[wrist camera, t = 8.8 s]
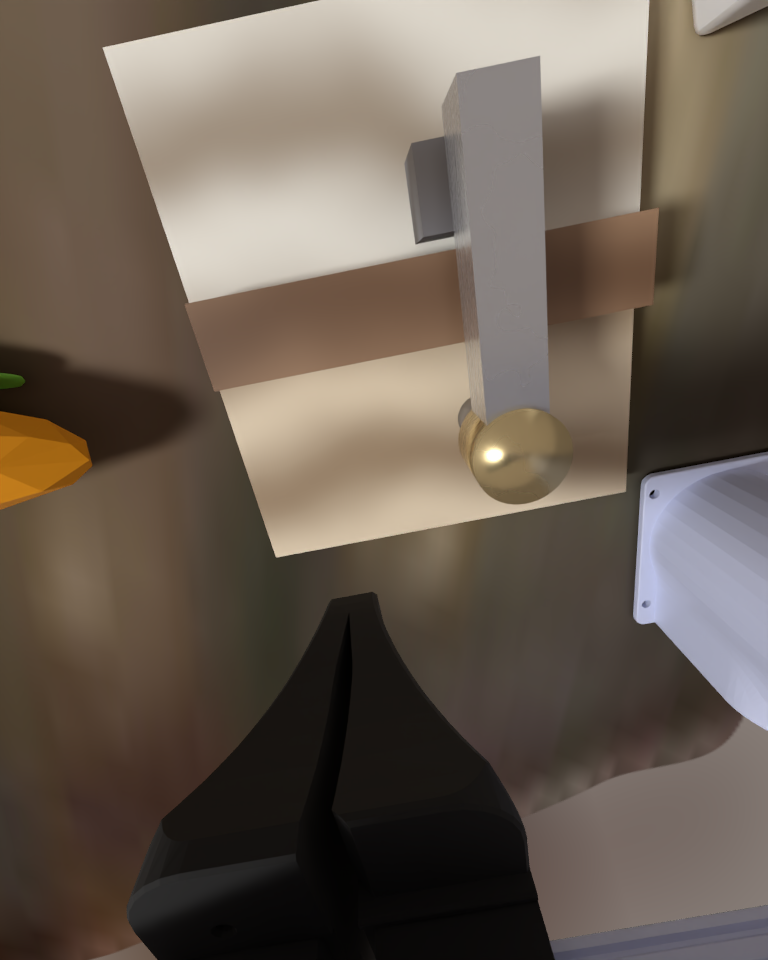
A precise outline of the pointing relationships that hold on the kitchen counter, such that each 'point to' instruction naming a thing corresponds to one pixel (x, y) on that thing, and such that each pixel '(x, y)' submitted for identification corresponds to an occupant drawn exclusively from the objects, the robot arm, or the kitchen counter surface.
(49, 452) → the corn
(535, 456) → the bar
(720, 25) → the container
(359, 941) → the robot arm
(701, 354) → the kitchen counter surface
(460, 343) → the brown-striped cream panel
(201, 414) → the kitchen counter surface
